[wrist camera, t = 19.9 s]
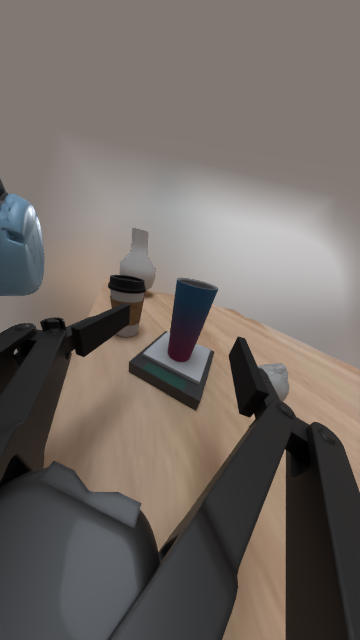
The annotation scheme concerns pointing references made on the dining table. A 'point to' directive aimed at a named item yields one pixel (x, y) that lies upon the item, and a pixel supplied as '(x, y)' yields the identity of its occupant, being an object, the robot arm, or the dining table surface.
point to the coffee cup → (128, 299)
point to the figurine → (278, 378)
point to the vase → (139, 259)
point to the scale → (174, 370)
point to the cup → (189, 316)
